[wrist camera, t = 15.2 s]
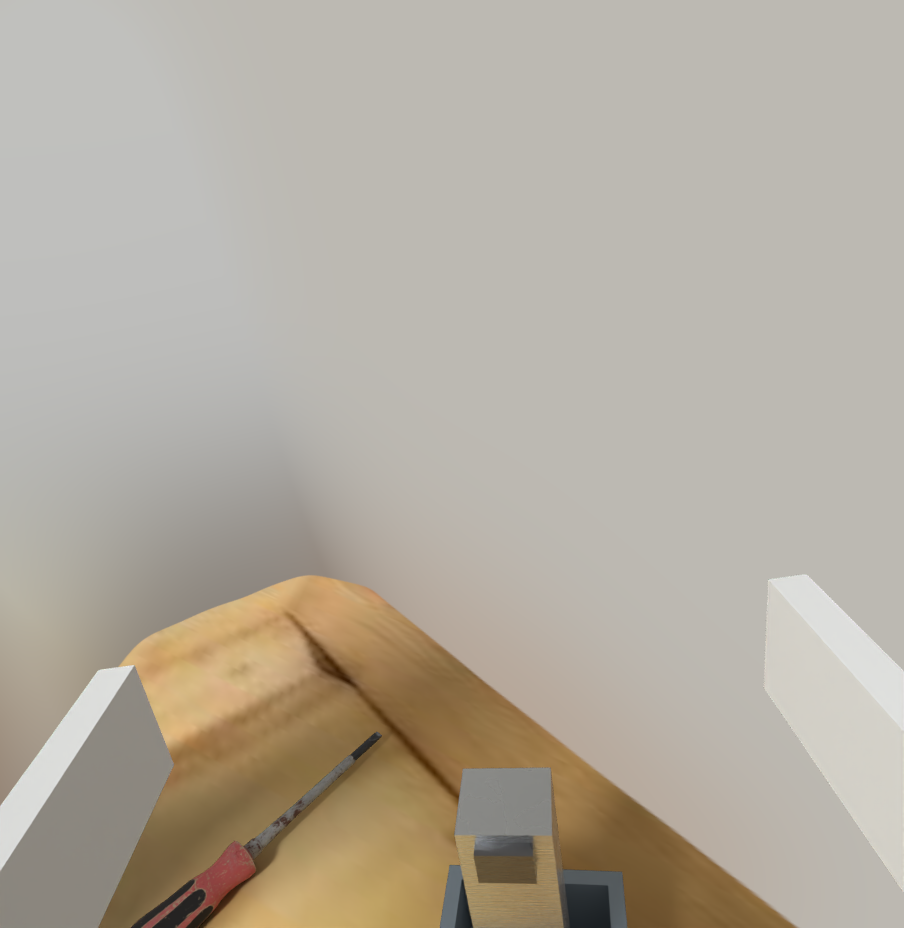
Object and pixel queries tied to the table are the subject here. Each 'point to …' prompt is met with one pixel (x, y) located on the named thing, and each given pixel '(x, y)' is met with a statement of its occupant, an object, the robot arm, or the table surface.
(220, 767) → the table surface
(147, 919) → the screwdriver
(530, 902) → the brushed metal post
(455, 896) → the caddy
